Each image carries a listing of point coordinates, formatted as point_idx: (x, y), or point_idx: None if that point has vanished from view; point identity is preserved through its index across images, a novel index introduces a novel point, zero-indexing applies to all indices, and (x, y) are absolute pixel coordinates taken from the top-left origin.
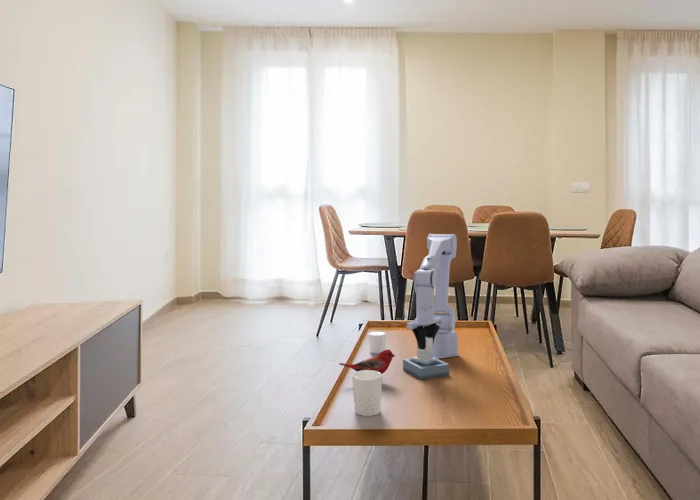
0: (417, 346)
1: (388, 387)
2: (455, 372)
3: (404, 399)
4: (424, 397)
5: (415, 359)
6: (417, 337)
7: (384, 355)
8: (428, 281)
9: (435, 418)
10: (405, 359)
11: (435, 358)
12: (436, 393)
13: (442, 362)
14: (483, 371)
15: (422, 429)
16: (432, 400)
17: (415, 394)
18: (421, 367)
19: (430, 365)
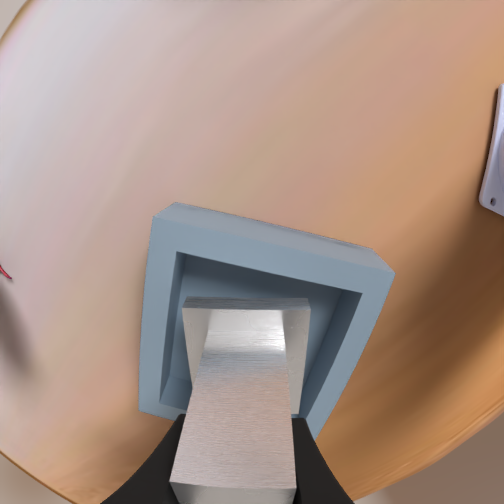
0: (192, 396)
1: (15, 336)
2: (358, 397)
3: (33, 417)
4: (84, 446)
5: (186, 330)
6: (142, 494)
7: None
8: None
9: (65, 483)
10: (163, 235)
11: (298, 407)
12: (128, 457)
13: (314, 416)
14: (429, 427)
15: (34, 477)
16: (95, 463)
17: (69, 423)
18: (152, 402)
19: (329, 302)
